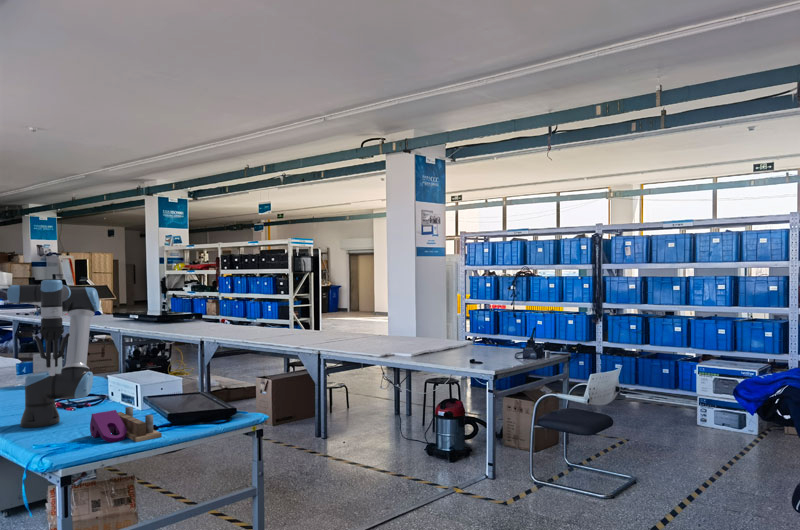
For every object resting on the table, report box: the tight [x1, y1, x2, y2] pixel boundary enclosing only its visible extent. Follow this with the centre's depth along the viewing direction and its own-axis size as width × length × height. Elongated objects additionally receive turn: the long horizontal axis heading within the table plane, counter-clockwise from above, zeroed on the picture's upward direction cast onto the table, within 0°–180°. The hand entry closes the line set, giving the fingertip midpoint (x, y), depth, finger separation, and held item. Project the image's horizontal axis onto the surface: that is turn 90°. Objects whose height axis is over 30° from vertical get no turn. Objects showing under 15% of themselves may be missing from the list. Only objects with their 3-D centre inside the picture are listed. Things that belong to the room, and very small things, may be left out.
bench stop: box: [117, 406, 163, 443], centre depth 244 cm, size 32×10×8 cm, turn 45°
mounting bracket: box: [89, 409, 127, 443], centre depth 237 cm, size 9×8×18 cm
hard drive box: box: [32, 352, 63, 374], centre depth 354 cm, size 16×8×20 cm, turn 74°
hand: (51, 375), depth 234 cm, fingers closed
